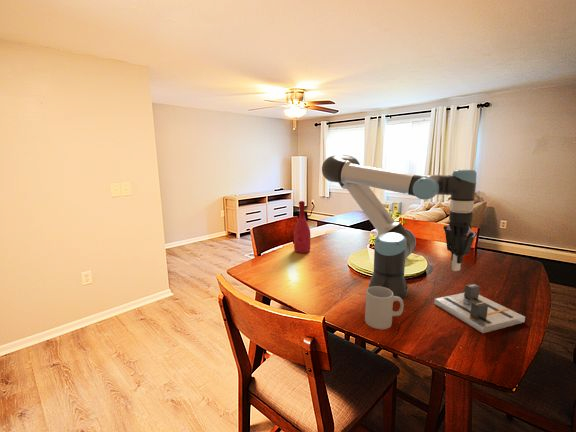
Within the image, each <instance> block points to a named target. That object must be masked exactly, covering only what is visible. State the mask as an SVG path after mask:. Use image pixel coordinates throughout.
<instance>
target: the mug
mask: <svg viewBox="0 0 576 432" xmlns="http://www.w3.org/2000/svg"><path fill="white" fill-rule="evenodd" d="M394 302H399V309H398V310H396V311H395V310H393V308H394V307H393V305H394ZM404 307H405V306H404V299H401V298H400V297H398V296H393V292H392V291H391V290H390V289H388V288H385V287H381V286H372V287H369V288H366V291H365V313H364V321H365V324H366V325H367V326H369V327H370V328H373V329H376V330H387V329H389V328H391V327H392V323H393V317H398V316H399V317H400V316H401V315H402V313H403V312H404Z"/></svg>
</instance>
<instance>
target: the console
mask: <svg viewBox="0 0 576 432" xmlns="http://www.w3.org/2000/svg"><path fill="white" fill-rule="evenodd" d="M433 303H434V305H436V306H437V307H439V308H440V309H442V310H444V311H446V312H447V313H449V314H450V315H452V316H454V317H456V318H457V319H459V320H460V321H462V322H464V323H465V324H467V325H468V326H470V327H472V328H474V329H475V330H477V331H478V332H480V333H481V334H485V333H489V332H493V331H497V330H500V329H505V328H507V327H508V328H509V327H512V326H515V325H518V324H519V325H520V324H522V323H523V324H524V323H525V320H526V316H525V315H522V314H521V313H518V312H516V311H515V310H512V309H510V308H508V307H506V306H504V305H501V304H500V303H497V302H496V301H493V300H491V299H490V298H487V297H484V296H483V295H481V294H479V296H478V298H474V299H468V298H466V297H465V296H464V292H460V293H456V294H452V295H451V294H450V295H446V296H441V297H437V298H434V301H433Z"/></svg>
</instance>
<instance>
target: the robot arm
mask: <svg viewBox="0 0 576 432" xmlns="http://www.w3.org/2000/svg"><path fill="white" fill-rule="evenodd" d="M321 173H322V175H323V177H324V178H325V179H326V180H327V181H328V182H331V183H338V184H339V185H340V187H341V189H342V190H343V189H344V190H347V191H348V193H349V194H350V195H351V197H352V198H353V200H354V201H355V203H356V204H357V205H358V206H359V208H360V209H361V210H362V212H363V213H364V215H365V216H366V218H367V219H368V220H369V222H370V223H371V225H373V227H374V229H375V230H376V232H377V236H375V240H374V244H373V247H374V249H373V250H374V255H373V272H372V274H371V278H370V280H369V282H368V286H367V287H368V288H369V287H372V286H381V287H385V288H388V289H390V290H391V291H392V292H393V296H398V297H400V298H401V299H402V300H404V299H405V298H407V297H408V294H409V288H408V285H407V284H408V283H407V281H406V277H405V271H406V270H405V267H406V259H407V258H408V257H409V256H410V255H411V254H412V253H413V252H414V251H415V249H416V248H415V247H416V245H417V241H416V237H415V235H414V233H413V232H412V231H411V230H409V229H407V228H405V227H404V225H403V223H401V222H400V221H395V219H394V218H393V217H392V216H391V214H390V213H389V212H388V210H387V209H386V207H385V206H384V205H383V203H382V202H381V201H380V199H379V198H378V197H377V195H376V194H375V193H374V191H373V190H372V189H371V188H374V189H375V188H376V189H379V190H380V189H381V190H385V191H390V192H394V193H398V194H399V193H400V194H404V195H409V196H414V197H416V198H417V199H420V200H424V201H425V200H430V199H432V198H435V197H436V196H437V195H438V196H439V195H441V196H442V195H443V196H450V201H449V202H450V204H449V210H450V211H449V217H448V220H449V223H448V225H444V226H443V228H442V229H443V230H444V234H445V242H446V243H445V244H446V250H447V251H448V252H450V254H451V258H450V260H451V262H452V263H451V271H452V272H453V271H454V272H458V271H461V264H463V259H464V256H468V255H469V253H470V251H471V248H472V245H473V242H474V241H475V240H474V239H475V238H476V237H477V236H478V232H477V231H474V230H473V229H472V225H471V224H472V222H473V215H474V213H473V211H474V207H475V206H474V205H475V204H474V203H475V197H476V188H477V171H476V170H475V169H455V170H453V172H452V174H447V175H446V174H445V175H444V174H441V175H440V174H421V175H418V174H412V173H407V172H401V171H400V172H399V171H395V170H390V169H382V168H379V167H377V168H376V167H373V166H372V167H371V166H365V165H361V164H360V162H359V160H358V159H357V158H356V157H354V156H351V155H347V154H346V155H345V154H343V155H332V156H331V155H330V156H329V157H327V158H326V159H325V160H324V162H322V166H321ZM368 288H367V289H368Z"/></svg>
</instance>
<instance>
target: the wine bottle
mask: <svg viewBox="0 0 576 432" xmlns="http://www.w3.org/2000/svg"><path fill="white" fill-rule="evenodd" d="M305 204H306V203H305V201H303V200H301V201H299V202H298V209H299V215H298V219H297V222H296V223H295V226H294V229H293V249H294V252H296V253H299V254H306V253H309V252H310V251H311V229H310V226H309V223H308V220H307V219H306V216H305V209H306V208H305Z"/></svg>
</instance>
